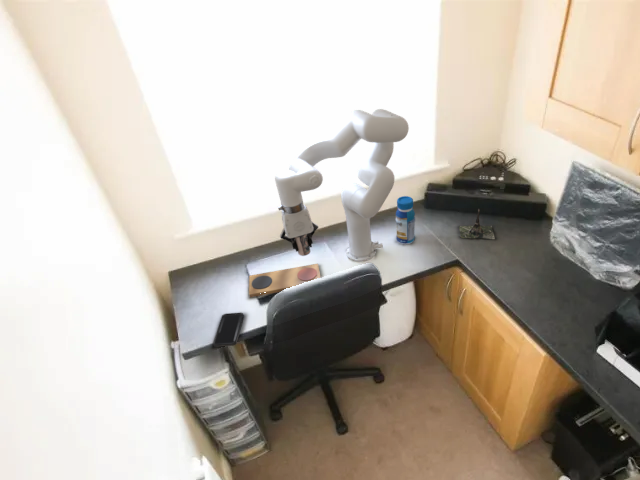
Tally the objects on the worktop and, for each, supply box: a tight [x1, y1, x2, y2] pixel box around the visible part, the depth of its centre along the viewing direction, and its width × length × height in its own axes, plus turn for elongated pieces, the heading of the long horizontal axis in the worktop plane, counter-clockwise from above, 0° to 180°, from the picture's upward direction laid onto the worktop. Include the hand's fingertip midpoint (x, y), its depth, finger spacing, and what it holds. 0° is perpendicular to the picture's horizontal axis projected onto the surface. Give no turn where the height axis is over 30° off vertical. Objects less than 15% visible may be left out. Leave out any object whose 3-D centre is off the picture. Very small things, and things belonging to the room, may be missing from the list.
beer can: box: [295, 234, 311, 257], centre depth 156 cm, size 5×5×12 cm
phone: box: [212, 312, 245, 348], centre depth 146 cm, size 8×1×15 cm
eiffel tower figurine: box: [458, 209, 496, 240], centre depth 181 cm, size 15×10×13 cm
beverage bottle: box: [395, 195, 416, 245], centre depth 178 cm, size 8×8×20 cm
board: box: [248, 263, 322, 298], centre depth 165 cm, size 28×12×2 cm, turn 103°
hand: (303, 247), depth 158 cm, fingers closed on beer can, 4 cm apart
